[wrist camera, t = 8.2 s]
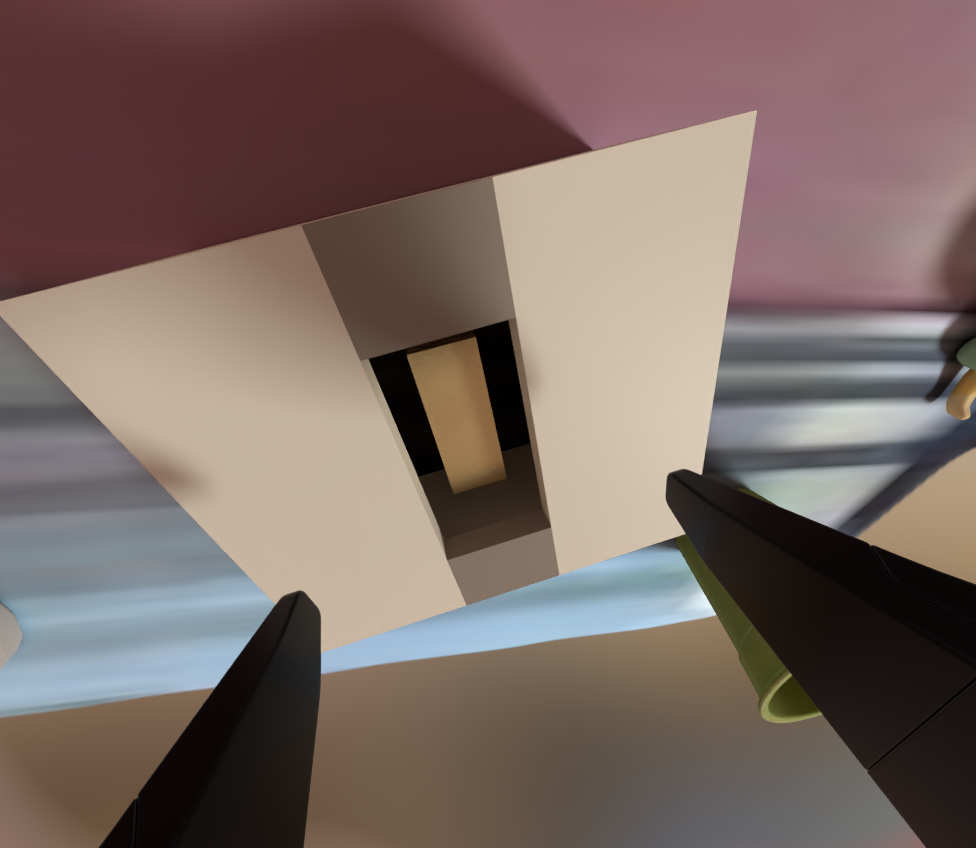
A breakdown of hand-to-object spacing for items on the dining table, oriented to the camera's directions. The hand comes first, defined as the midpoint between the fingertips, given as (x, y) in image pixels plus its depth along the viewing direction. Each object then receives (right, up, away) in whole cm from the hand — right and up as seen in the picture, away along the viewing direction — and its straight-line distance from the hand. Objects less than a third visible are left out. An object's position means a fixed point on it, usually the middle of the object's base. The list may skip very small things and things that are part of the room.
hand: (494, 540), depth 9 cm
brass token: (-2, +6, +9) cm, 11 cm away
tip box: (-2, +6, +9) cm, 11 cm away
